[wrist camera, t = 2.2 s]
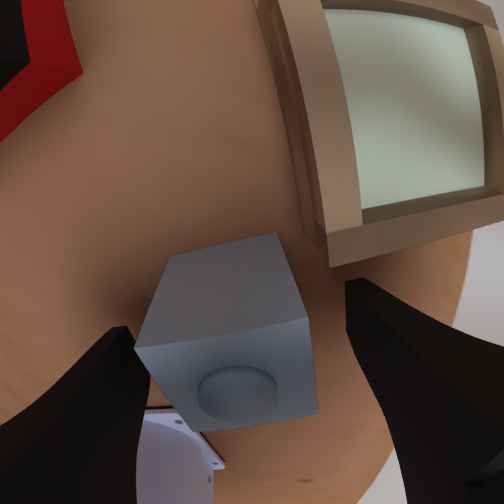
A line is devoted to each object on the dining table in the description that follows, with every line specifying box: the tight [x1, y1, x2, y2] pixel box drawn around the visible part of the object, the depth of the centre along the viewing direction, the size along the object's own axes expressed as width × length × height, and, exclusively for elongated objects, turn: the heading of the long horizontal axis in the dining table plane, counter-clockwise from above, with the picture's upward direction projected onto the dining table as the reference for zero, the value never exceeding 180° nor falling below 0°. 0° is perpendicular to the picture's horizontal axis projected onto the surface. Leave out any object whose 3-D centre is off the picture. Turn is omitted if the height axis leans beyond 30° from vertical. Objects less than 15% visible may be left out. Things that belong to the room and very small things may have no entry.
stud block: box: [134, 232, 318, 432], centre depth 9 cm, size 4×4×5 cm
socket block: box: [253, 0, 504, 268], centre depth 6 cm, size 14×8×3 cm, turn 12°
